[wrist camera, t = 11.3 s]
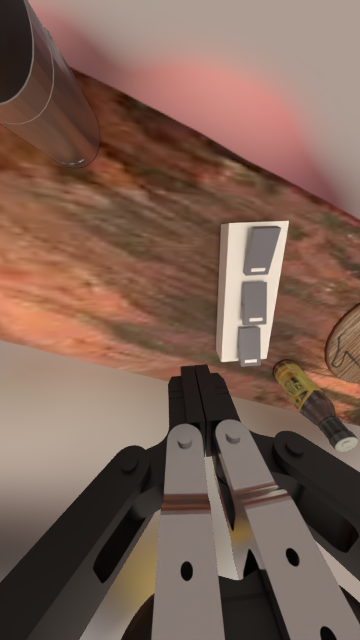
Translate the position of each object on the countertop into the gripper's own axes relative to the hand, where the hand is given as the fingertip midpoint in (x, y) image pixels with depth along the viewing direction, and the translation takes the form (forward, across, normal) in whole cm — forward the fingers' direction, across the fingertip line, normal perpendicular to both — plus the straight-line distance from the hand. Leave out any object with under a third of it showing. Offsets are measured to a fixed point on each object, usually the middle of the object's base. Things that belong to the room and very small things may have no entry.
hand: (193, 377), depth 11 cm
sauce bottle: (+31, -27, +27) cm, 49 cm away
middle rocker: (+25, -14, +6) cm, 30 cm away
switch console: (+31, -14, +6) cm, 35 cm away
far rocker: (+25, -14, +15) cm, 33 cm away
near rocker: (+26, -15, -4) cm, 30 cm away
